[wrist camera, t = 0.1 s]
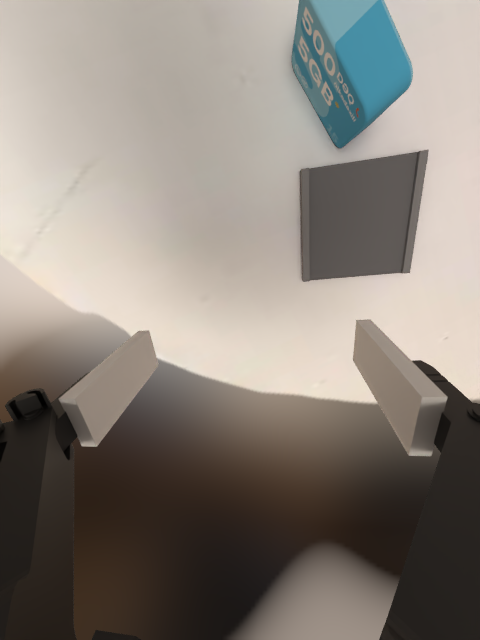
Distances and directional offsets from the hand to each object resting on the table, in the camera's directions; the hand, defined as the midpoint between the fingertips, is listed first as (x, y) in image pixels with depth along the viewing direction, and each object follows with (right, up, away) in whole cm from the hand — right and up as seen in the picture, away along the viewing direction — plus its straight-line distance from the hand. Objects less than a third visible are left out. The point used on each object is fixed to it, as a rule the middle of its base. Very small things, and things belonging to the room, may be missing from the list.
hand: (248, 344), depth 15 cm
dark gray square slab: (+17, +16, +21) cm, 32 cm away
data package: (+11, +31, +16) cm, 37 cm away
